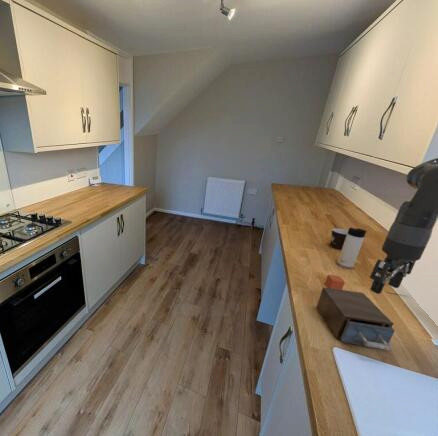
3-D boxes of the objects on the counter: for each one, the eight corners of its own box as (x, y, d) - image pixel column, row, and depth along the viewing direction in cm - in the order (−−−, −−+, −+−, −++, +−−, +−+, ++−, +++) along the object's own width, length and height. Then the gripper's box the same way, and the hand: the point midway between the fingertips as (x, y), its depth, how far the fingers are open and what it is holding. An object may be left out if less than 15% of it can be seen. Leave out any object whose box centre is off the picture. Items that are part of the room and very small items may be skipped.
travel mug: (340, 267, 115) (353, 230, 108) (335, 261, 121) (347, 225, 114) (355, 270, 113) (370, 232, 106) (350, 263, 119) (363, 226, 112)
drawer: (397, 363, 66) (407, 344, 64) (350, 355, 69) (359, 336, 66) (358, 317, 83) (365, 300, 81) (322, 311, 85) (328, 295, 83)
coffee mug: (327, 242, 141) (332, 227, 138) (345, 246, 137) (351, 230, 133) (327, 249, 132) (332, 233, 129) (347, 254, 128) (352, 237, 124)
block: (336, 284, 102) (339, 275, 101) (341, 290, 98) (344, 282, 97) (324, 283, 103) (327, 274, 102) (329, 289, 99) (332, 280, 98)
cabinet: (382, 346, 73) (393, 323, 70) (336, 338, 75) (344, 316, 72) (355, 313, 86) (363, 292, 83) (316, 307, 89) (322, 287, 86)
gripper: (409, 249, 58) (384, 302, 64) (440, 241, 63) (415, 292, 68) (373, 236, 65) (354, 286, 70) (404, 230, 69) (383, 277, 75)
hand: (384, 289), depth 69 cm, fingers open, 8 cm apart
